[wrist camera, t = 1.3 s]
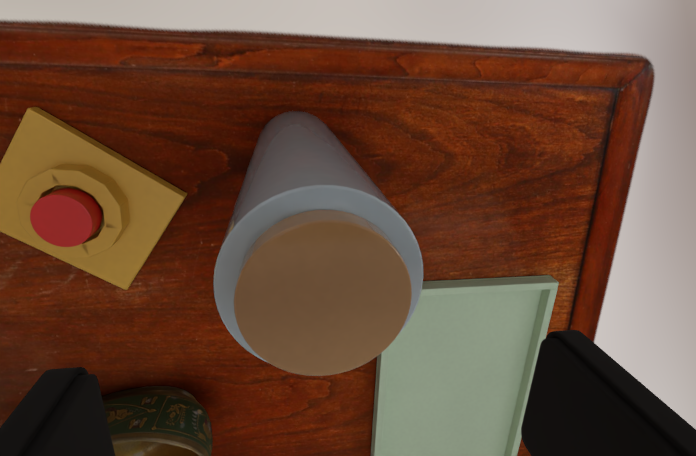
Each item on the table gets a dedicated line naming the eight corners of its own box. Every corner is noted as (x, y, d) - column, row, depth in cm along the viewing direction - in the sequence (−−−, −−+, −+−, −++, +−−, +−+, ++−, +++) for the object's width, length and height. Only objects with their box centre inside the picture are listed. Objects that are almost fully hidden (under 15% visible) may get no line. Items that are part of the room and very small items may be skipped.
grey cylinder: (285, 94, 32) (293, 145, 10) (351, 142, 34) (478, 271, 12) (241, 162, 33) (162, 339, 11) (307, 204, 36) (349, 422, 14)
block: (36, 106, 30) (12, 109, 27) (187, 193, 34) (179, 204, 31) (-18, 213, 32) (-46, 227, 29) (131, 284, 36) (118, 301, 33)
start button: (57, 177, 29) (44, 183, 28) (111, 206, 31) (102, 214, 29) (33, 221, 30) (19, 229, 29) (87, 247, 31) (77, 257, 30)
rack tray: (381, 283, 40) (385, 291, 38) (549, 274, 42) (559, 282, 41) (368, 485, 50) (371, 497, 48) (504, 467, 52) (511, 479, 51)
